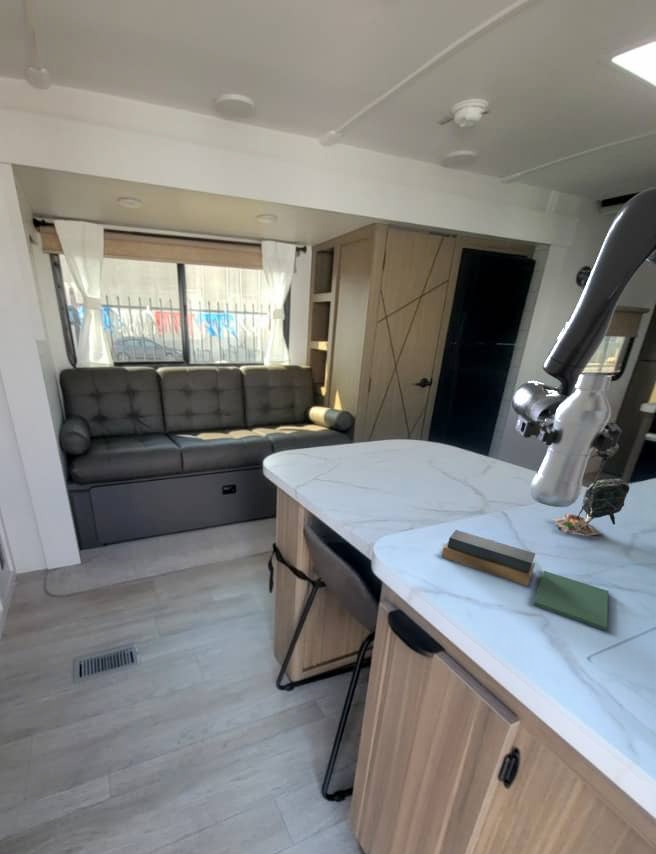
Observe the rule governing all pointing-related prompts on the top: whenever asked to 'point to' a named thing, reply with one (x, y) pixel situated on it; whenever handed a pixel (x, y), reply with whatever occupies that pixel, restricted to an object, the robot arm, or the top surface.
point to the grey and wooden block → (490, 556)
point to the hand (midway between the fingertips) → (577, 441)
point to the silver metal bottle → (572, 442)
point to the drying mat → (573, 599)
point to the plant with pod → (597, 501)
